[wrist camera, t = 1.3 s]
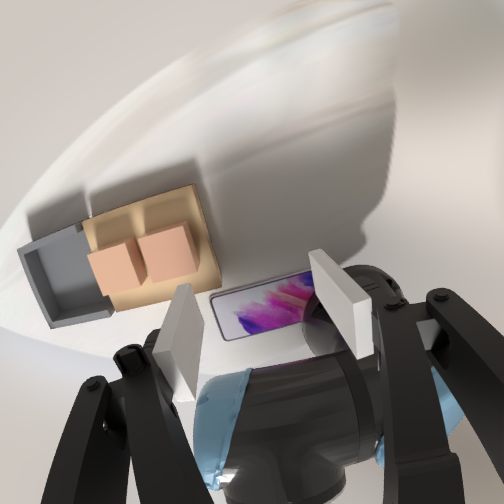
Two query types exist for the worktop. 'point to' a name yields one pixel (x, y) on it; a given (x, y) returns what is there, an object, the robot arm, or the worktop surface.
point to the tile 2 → (169, 252)
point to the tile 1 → (118, 266)
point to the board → (150, 218)
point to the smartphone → (262, 305)
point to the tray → (64, 278)
